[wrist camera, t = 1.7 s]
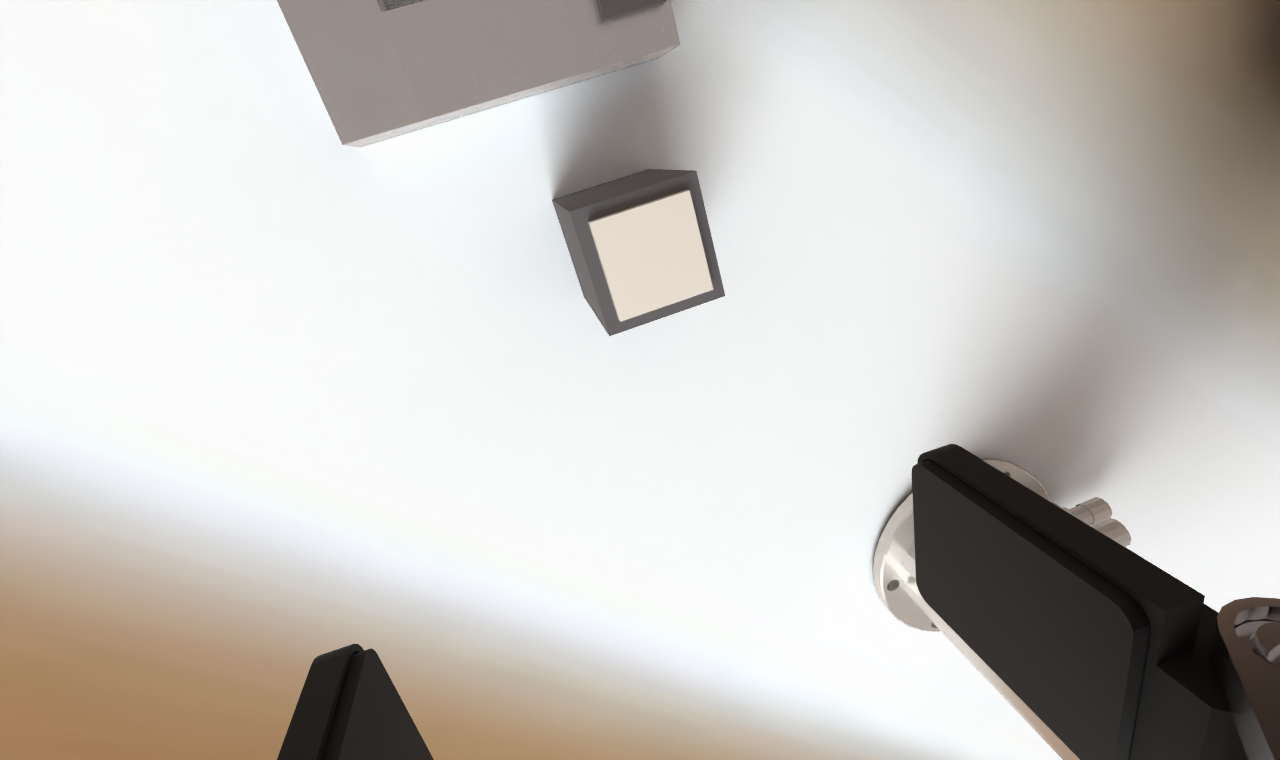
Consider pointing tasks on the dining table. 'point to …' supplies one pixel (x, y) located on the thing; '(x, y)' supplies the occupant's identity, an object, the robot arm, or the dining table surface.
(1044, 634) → the robot arm
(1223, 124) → the dining table surface
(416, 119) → the socket plate
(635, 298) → the plug
